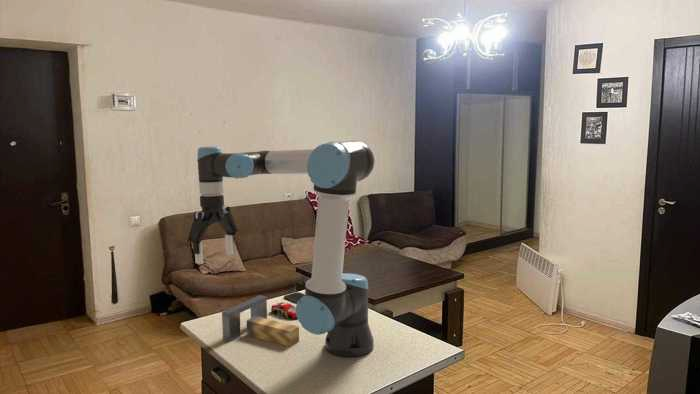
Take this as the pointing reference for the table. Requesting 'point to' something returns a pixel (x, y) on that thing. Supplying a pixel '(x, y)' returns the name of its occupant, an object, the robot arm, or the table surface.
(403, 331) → the table surface
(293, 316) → the race car
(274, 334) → the tan long block
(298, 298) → the phone
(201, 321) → the table surface
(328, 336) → the robot arm
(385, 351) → the table surface
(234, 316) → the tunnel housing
